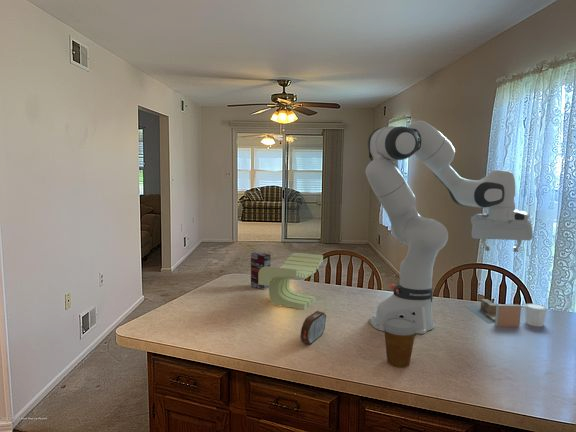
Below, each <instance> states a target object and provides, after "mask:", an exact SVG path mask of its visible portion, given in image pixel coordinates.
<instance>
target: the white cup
mask: <svg viewBox="0 0 576 432" xmlns="http://www.w3.org/2000/svg"><path fill="white" fill-rule="evenodd" d="M524 306H525V307H524V308H525V309H524V311H525V312H524V313H525V316H524V317H525V324H527V325H529V326H531V327H532V326H533V327H543V326H544V325H545V319H546V316H547V309H548V307H547V306H545V305H542V304H538V303H525V304H524Z"/></svg>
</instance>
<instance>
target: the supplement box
mask: <svg viewBox="0 0 576 432" xmlns="http://www.w3.org/2000/svg"><path fill="white" fill-rule="evenodd" d="M271 256H272V255H271V254H269V253H264V252H259V251H256V252H252V253H250V287H251V286H253V287H252V288H256V287H257V288H256V289H259V288H261V289H260V290H263V289H265V290H268V289H269V287H268V286H267V285H259V284H258V273H259V270H260V269H261V268H262V267H264V266H268V267H271V259H272V257H271ZM267 288H268V289H267Z"/></svg>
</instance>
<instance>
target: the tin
mask: <svg viewBox="0 0 576 432" xmlns="http://www.w3.org/2000/svg"><path fill="white" fill-rule="evenodd" d="M326 320H327V314H326V313H325V312H322V311H319V310H316V311H314V312H313V313H311V314H310V315H308V316H307V317H306V318H305V319H304V321H303V323H302V325H301V329H300V341H301V342H302V343H303V344H308V345H312V344H314V343H315V341H317V340H318V339H319V338H320V337H321V336H322V335H323V334H324V331H325V329H326V328H325V327H326V323H327V321H326Z"/></svg>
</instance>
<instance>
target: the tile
mask: <svg viewBox="0 0 576 432" xmlns="http://www.w3.org/2000/svg"><path fill="white" fill-rule="evenodd" d="M495 304H496V303H495ZM521 311H522V305H520V304H512V303H511V304H510V303H509V304H506V303H504V304H501V303H499V304H496V318H495V323H494V325H495V326H496V327H520V323H521V313H522V312H521Z"/></svg>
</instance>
